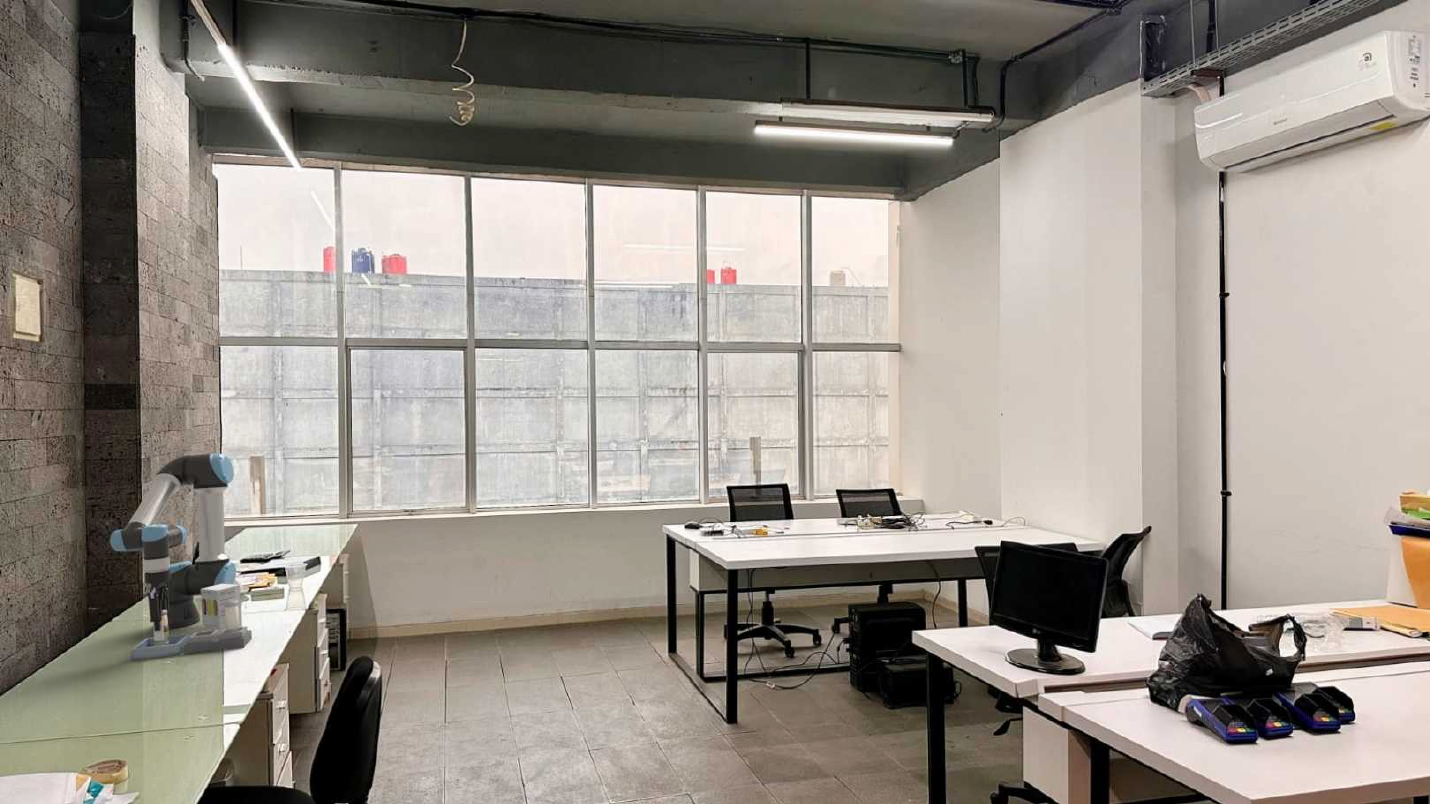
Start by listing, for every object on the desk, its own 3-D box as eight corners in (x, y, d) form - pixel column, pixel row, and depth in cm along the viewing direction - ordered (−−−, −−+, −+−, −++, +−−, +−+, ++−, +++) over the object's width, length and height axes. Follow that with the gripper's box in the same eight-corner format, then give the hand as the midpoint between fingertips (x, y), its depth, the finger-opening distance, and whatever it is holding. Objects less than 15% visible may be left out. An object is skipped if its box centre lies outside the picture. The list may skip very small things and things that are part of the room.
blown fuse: (157, 644, 300) (154, 610, 300) (170, 643, 301) (168, 608, 301) (152, 648, 296) (150, 613, 296) (166, 646, 297) (164, 611, 297)
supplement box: (202, 634, 319) (199, 588, 318) (224, 627, 327) (222, 583, 327) (220, 636, 315) (217, 590, 315) (243, 629, 324) (240, 584, 323)
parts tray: (146, 648, 304) (145, 638, 304) (191, 643, 308) (190, 633, 308) (131, 660, 290) (130, 649, 290) (178, 654, 294) (178, 644, 294)
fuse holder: (194, 645, 305) (192, 602, 304) (251, 638, 310) (249, 596, 309) (185, 654, 294) (182, 610, 294) (244, 647, 299) (241, 603, 299)
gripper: (153, 566, 306) (157, 632, 306) (135, 576, 289) (140, 646, 290) (177, 564, 308) (181, 630, 308) (161, 573, 291) (165, 643, 292)
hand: (161, 637), depth 299 cm, fingers closed on blown fuse, 4 cm apart
